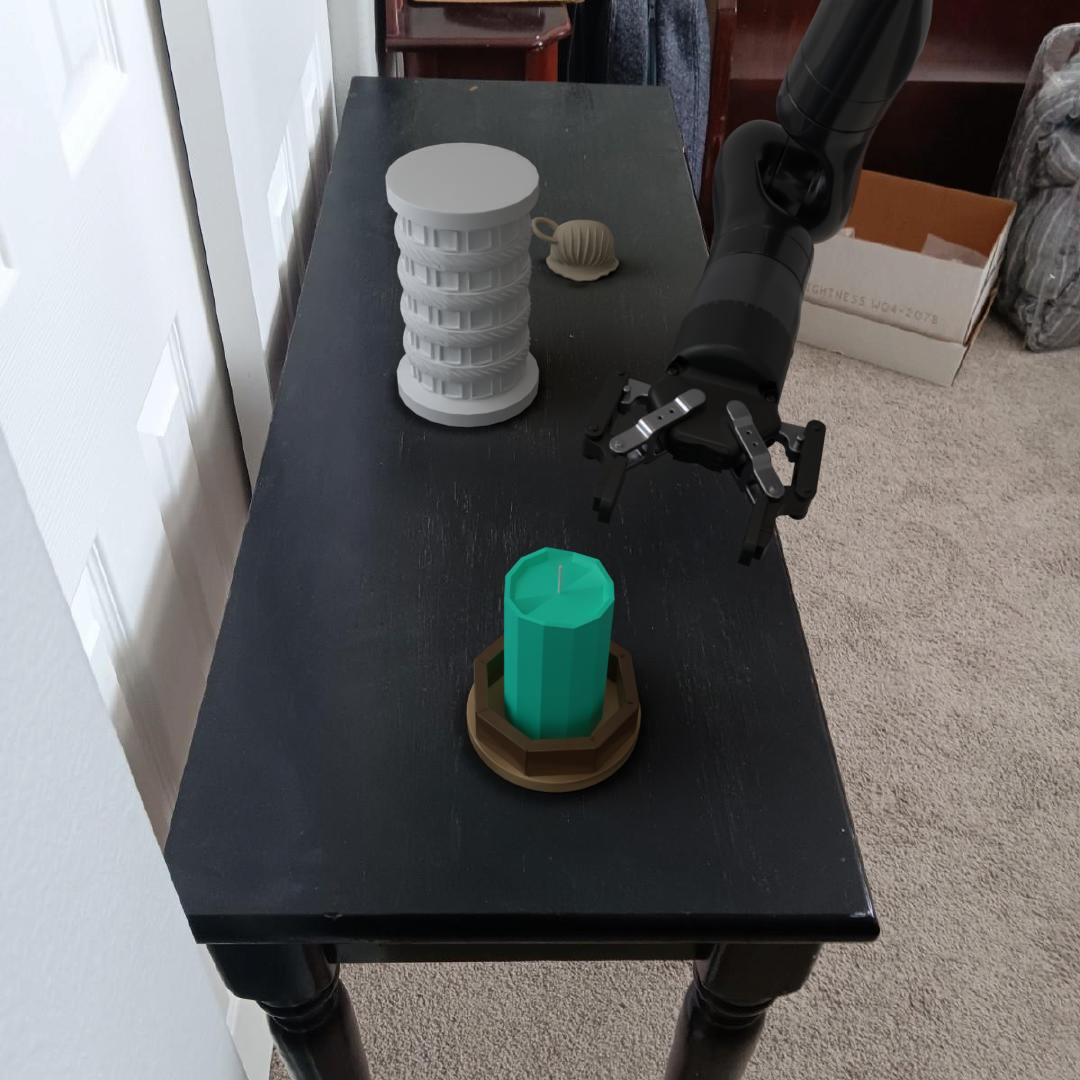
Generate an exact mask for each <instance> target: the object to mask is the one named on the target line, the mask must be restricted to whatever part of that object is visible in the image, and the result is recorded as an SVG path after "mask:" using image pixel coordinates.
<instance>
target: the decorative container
mask: <svg viewBox="0 0 1080 1080" xmlns="http://www.w3.org/2000/svg"><path fill="white" fill-rule="evenodd" d="M384 177H385V187H386V188H385V189H386V197H387V203H388V205H390V207H391V208H392V209H393V211H394V212H395V213H397V215H396V218H395V220H394V221H395V222H394V227H393V230H394V231H393V232H394V236H395V237H394V238H395V240H396V242H397V247H398V248H399V250H400V255H399V257H398V261H397V276H398V279H399V281H400V285H401V287H402V289H403V290H402V294H401V298H400V303H399V304H400V305H399V306H400V307H399V308H400V313H401V316H402V318H403V322H404V324H405V327H404V331H403V337H402V345H403V350H404V351H405V354H404V355H403V356H402V358H401V359H400V360H399V363H398V367H397V369H396V377H397V378H396V379H397V387H398V395H399V397H400V398H401V400H402V401H403V404H404V405H405V406H406V407H407V408H409V409H410V410H411V411H412V412H413V413H415V414H416V415H417V416H418V417H422V418H423V419H426V420H428V421H430V422H433V423H437V424H440V425H445V426H448V427H460V428H461V427H463V428H474V427H484V426H490V425H494V424H497V423H502V422H506V421H508V420H509V419H512V418H513V417H515V416H518V415H520V414H521V413H522V412H524V411H525V409H526V408H528V407H529V406H530V405H532V403H533V401H534V399H535V398H536V396H537V394H538V390H539V383H540V382H539V381H540V370H539V366H538V363H537V360H536V358H535V357H534V355H533V354H532V353H531V352H530V346H531V342H530V341H531V339H532V337H531V336H530V335H531V332H530V329H529V325H528V322H529V320H530V316H531V311H532V308H531V305H532V304H533V303H532V301H531V299H532V297H531V295H530V292H529V285H530V282H531V278H532V277H531V275H532V274H533V271H532V269H533V265H532V258H531V256H530V255H531V254H530V253H529V248H530V247H531V242H532V241H531V240H532V236H533V235H534V232H533V231H532V229H533V227H532V220H533V219H532V217H531V214H530V213H531V210H533V208H534V207H535V206H536V204H537V203H538V199H539V194H540V175H539V172H538V169H537V167H536V166H535V165H534V164H533V163H532V162H531V161H530V160H529V159H528V158H526V157H524V156H523V155H521V154H519V153H517V152H516V151H514V150H510V149H507V148H503V147H501V146H496V145H491V144H486V143H475V142H451V143H449V142H448V143H447V142H446V143H440V144H434V145H429V146H428V145H427V146H425V147H422V148H418V149H415V150H411V151H410V152H408V153H406V154H404V155H402V156H400V157H399V158H397V159H396V160H395V161H394V162H392V164H390V165H389V166H388V169H387V172H386V174H385V175H384Z"/></svg>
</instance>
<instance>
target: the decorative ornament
mask: <svg viewBox="0 0 1080 1080" xmlns="http://www.w3.org/2000/svg"><path fill="white" fill-rule="evenodd" d="M531 220H532V227H533V229H532V233H533V234H534V235H535V236H536V237H537V238H539V240H541V241H543V242H545V243H547V244H550V252H549V255H547V257H546V258H545V262H546V265H547V267H548V268H549V269H550V270H551V271H552V272H554V273H555V274H557V275H560V276H562V277H563V278H564V279H570V280H572V281H574V282H577V283H578V282H579V283H580V282H581V283H582V282H595V281H597V280H599V279H600V278H602V277H607V276H609V273H611V272H612V273H613V272H615V271H616V270H617V268H618V267H619V264H620V262H619V259H618V258H616V253H615V252H616V251H615V241H614V235H613V233H612V231H611V230H610V228H609V227H608V226H607V225H605V224H604V223H602V222H600V221H597V220H592V219H591V220H590V219H574V220H573V219H572V220H568V221H566V222H563V223H561V224H560V225H559V224H558V223H557V222H556V221H554V220H552V219H550V218H548V217H544V216H536V217H534V218H533V219H531ZM537 224H543V225H545V226H547V227H549V228H551V229H552V230H553V234H552V236H549V235H547V234H545V233H543V232H542V231H541V230H540V229H539V228H538V227H537Z"/></svg>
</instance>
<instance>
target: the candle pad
mask: <svg viewBox="0 0 1080 1080" xmlns="http://www.w3.org/2000/svg"><path fill="white" fill-rule="evenodd" d="M472 663H473V664H472V665H473V683H472V686H471V688H470V690H469V691H470V692H469V694H468V698H467V701H466V702H467V703H466V725H467V732H468V736H469V739H470V741H471V744H472V746H473V748H474V750H475V752H476V753H477V755H478V757H479V758H480V759H481V760H482V761H483V763H484V764H485V765H486V766H487V767H488V768H489V769H490V770H491V771H493V772H494V774H496V775H498V776H500V777H501V778H502V779H504V780H506V781H507V782H510V783H511V784H514V785H516V786H519V787H522V788H525V789H528V790H533V791H536V792H545V793H566V792H574V791H578V790H584V789H586V788H588V787H591V786H595V785H597V784H598V783H600V782H602V781H604V780H606V779H608V778H609V777H610V776H612V775H614V774H615V773H616V772H617V771H618V770H619V769H620V768H621V767H622V766H624V764H625V763H626V762H627V761H628V759H629V757H630V756H631V755H632V753H633V751H634V749H635V747H636V745H637V743H638V742H637V741H638V739H639V735H640V734H639V733H640V730H641V729H640V728H641V718H642V710H641V709H642V708H641V704H640V703H641V702H640V698H639V692H638V686H637V681H636V676H635V669H634V664H633V657H632V654H631V653H630V651H628V650H627V649H626V648H624V647H622V646H620V644H617V643H616V642H614V641H613V640H612V639H610V648H609V658H608V667H607V676H606V686H605V695H604V705H603V714H602V719H601V721H600V722H599V723H598V725H597V726H596V728H595V729H594V730H593V732H592V733H591V735H590V736H589V737H580V738H559V739H538V740H531V739H530V738H528V737H527V736H526V735H524V734H523V733H522V732H520V731H519V730H518V729H516V728H515V727H514V726H512V725H511V724H510V723H509V721H508V720H507V718H506V717H505V715H504V633H503V634H501V636H500V637H498V638H497V639H496V640H495V641H494V642H492V643H491V644H489V646H488V647H486V648H485V649H484V650H483V651H482V652H481V653H479V654H478V655H477V656H476V657H475V658H473V662H472Z"/></svg>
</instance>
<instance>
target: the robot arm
mask: <svg viewBox="0 0 1080 1080" xmlns="http://www.w3.org/2000/svg"><path fill="white" fill-rule="evenodd" d="M933 4H934V0H820V2H819V4H818V7H817V9H816V11H815V13H814V16H813V17H812V20H811V21H810V23H809V25H808V27H807V29H806V31H805V34H804V36H803V37H802V40H801V42H800V44H799V46H798V47H797V51H796V52H795V53H794V56H793V59H792V60H791V62H790V64H789V66H788V69H787V70H786V72H785V75H784V76H783V79H782V81H781V84H780V86H779V89H778V91H777V95H776V100H775V110H776V117H777V120H778V122H779V123H777V122H776V121H775V122H774V121H771V120H767V119H753V120H750V121H748V122H745V123H743V124H741V125H740V126H738V127H737V128H735V129H734V130H733V131H732V132H731V133H730V134H729V135H728V136H727V138H726V139H725V140H724V142H723V144H722V145H721V148H720V150H719V152H718V154H717V158H716V161H715V165H714V170H713V177H712V211H713V221H714V222H713V223H714V232H713V233H714V236H713V237H714V238H713V243H712V246H711V250H710V251H709V252H710V253H709V255H708V259H707V261H706V264H705V266H704V269H703V271H702V275H701V278H700V279H699V281H698V283H697V284H696V286H695V288H694V290H693V292H692V294H691V296H690V299H689V301H688V303H687V306H686V309H685V312H684V314H683V317H682V320H681V322H680V326H679V329H678V332H677V335H676V336H675V337H676V338H675V340H674V343H673V346H672V349H671V352H670V355H669V357H668V360H667V363H666V366H665V369H664V371H663V374H662V376H661V377H660V378H659V379H658V380H657V381H655V382H654V383H653V384H649V383H646V382H642V381H640V380H637V379H633V378H630V375H631V372H630V371H631V370H630V369H629V368H628V367H626V365H622V364H618V365H615V366H613V367H612V368H611V369H610V371H609V374H608V376H607V378H606V380H605V382H604V384H603V386H602V388H601V390H600V392H599V393H598V396H597V398H596V401H595V402H594V404H593V407H592V409H591V410H590V414H589V415H588V417H587V419H586V420H585V421H586V422H585V423H584V425H583V433H582V441H581V450H580V453H581V455H582V457H583V458H585V459H587V460H590V461H591V460H592V461H593V460H596V461H597V462H599V464H600V465H601V467H600V470H599V472H598V476H597V478H596V481H595V483H594V487H593V489H592V496H591V510H592V511H594V512H598V513H597V522H600V523H604V524H607V525H609V524H610V522H611V519H612V516H613V513H614V510H615V508H616V505H617V502H618V499H619V497H620V494H621V491H622V488H623V485H624V482H625V480H626V474H627V472H629V471H631V470H632V469H634V468H636V467H638V466H639V465H641V464H643V465H644V466H645V465H649V464H651V463H652V462H654V461H656V460H658V459H659V458H661V457H663V456H665V455H667V454H670V455H671V456H672V460H673V461H678V462H680V463H683V464H695V465H699V466H701V467H703V468H705V469H707V470H709V471H711V472H712V471H713V472H715V473H718V474H722V473H723V471H729V473H730V474H731V476H732V479H733V480H734V482H735V484H736V486H737V488H738V489H739V491H740V492H741V493H744V494H745V495H746V497H747V499H748V501H749V503H750V505H751V506H752V509H751V512H750V515H749V518H748V522H747V525H746V529H745V533H744V536H743V540H742V544H741V548H740V551H739V555H738V558H737V564H739V565H743V566H745V567H750V565H751V562H752V560H753V559H754V560H757V561H761V560H762V558H763V557H764V556H765V555H766V552H767V551H768V548H769V546H770V543H771V540H772V537H773V533H774V528H775V524H776V521H777V518H778V517H781V516H782V517H783V516H788V517H789V518H790V519H792V520H795V521H801V520H804V519H805V518H806V517H807V514H808V512H809V509H810V506H811V504H812V502H813V500H814V499H815V497H816V494H817V491H818V487H819V478H820V472H821V466H822V459H823V452H824V448H825V447H824V445H825V440H826V434H827V433H826V432H827V427H826V425H825V423H824V422H822V420H819V419H811V420H809V421H808V422H807V423H806V424H805V426H802V425H797V424H792V423H789V422H785V421H782V418H781V416H780V413H779V405H780V402H781V398H782V394H783V390H784V386H785V382H786V379H787V375H788V371H789V367H790V365H791V360H792V358H793V356H794V352H795V346H796V342H797V339H798V334H799V330H800V325H801V316H802V306H803V301H804V299H805V295H806V291H807V287H808V283H809V281H810V277H811V274H812V269H813V266H814V265H813V264H814V260H815V259H814V258H815V245H819V244H821V243H825V242H827V241H829V240H830V239H832V238H833V237H835V236H836V235H837V234H839V232H841V231H842V229H843V228H844V227H845V225H846V224H847V222H848V221H849V219H850V216H851V215H852V212H853V209H854V206H855V203H856V198H857V197H858V196H857V195H858V193H859V187H860V182H861V177H862V171H863V166H864V162H865V158H866V155H867V152H868V149H869V147H870V144H871V141H872V139H873V137H874V134H875V133H876V131H877V128H878V127H879V125H880V123H881V122H882V121H883V119H884V117H885V115H886V114H887V112H888V111H889V109H890V107H891V106H892V104H893V103H894V101H895V99H896V98H897V97H898V95H899V93H900V91H901V90H902V88H903V86H904V85H905V84H906V82H907V81H908V78H909V76H910V75H911V73H912V72H913V70H914V68H915V66H916V65H917V63H918V60H919V59H920V56H921V54H922V52H923V49H924V46H925V43H926V41H927V38H928V34H929V31H930V27H931V22H932V16H933ZM638 405H644V406H645V409H646V412H647V414H646V415H644V416H642V417H641V418H640V419H639V420H638V421H637V423H636V424H635V425H634V426H633V427H630V428H628V429H627V430H625V431H623V432H621V433H619V434H617V435H616V436H614V435H613V434H611V432H612V429H613V427H614V425H615V423H616V421H617V419H618V417H619V415H622V416H625V415H627V414H628V413H629V412H631V411H632V410H633V409H634V408H635V407H636V406H638ZM775 443H779V444H781V446H782V447H783V449H784V454H785V456H786V458H787V461H788V462H789V463H791V464H793V469H792V476H791V481H790V485H784V484H783V483H782V481H781V478H780V477H779V475H778V474H777V471H776V470H775V468H774V466H773V463H772V455H771V453H770V451H769V448H771V447H773V446H774V445H775Z"/></svg>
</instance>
